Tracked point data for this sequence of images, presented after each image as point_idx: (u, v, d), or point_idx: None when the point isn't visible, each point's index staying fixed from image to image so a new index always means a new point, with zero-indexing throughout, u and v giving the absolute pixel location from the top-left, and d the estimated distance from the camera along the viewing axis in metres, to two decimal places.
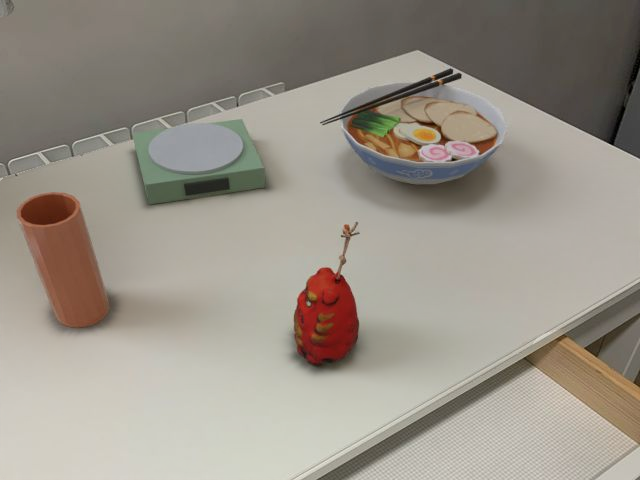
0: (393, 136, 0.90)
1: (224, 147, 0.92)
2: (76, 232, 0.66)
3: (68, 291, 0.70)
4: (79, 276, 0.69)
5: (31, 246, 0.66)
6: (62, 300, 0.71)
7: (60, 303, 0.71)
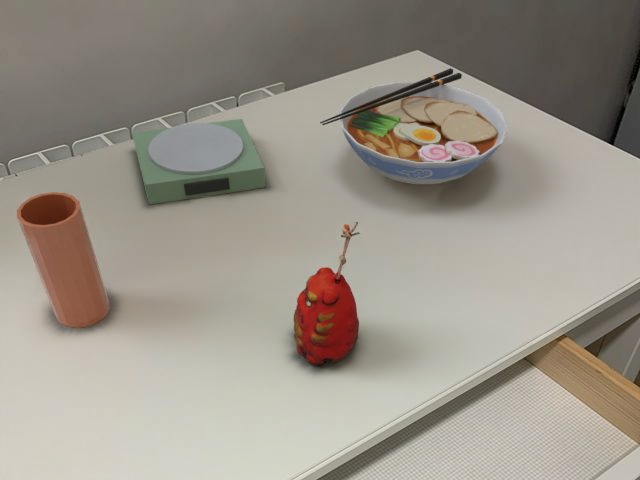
0: (393, 136, 0.90)
1: (224, 147, 0.92)
2: (76, 232, 0.66)
3: (68, 291, 0.70)
4: (79, 276, 0.69)
5: (31, 246, 0.66)
6: (62, 300, 0.71)
7: (60, 303, 0.71)
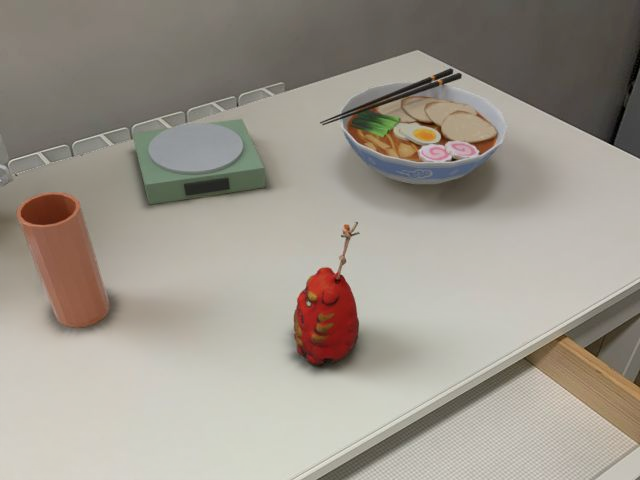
0: (393, 136, 0.90)
1: (224, 147, 0.92)
2: (76, 232, 0.66)
3: (68, 291, 0.70)
4: (79, 276, 0.69)
5: (31, 246, 0.66)
6: (62, 300, 0.71)
7: (60, 303, 0.71)
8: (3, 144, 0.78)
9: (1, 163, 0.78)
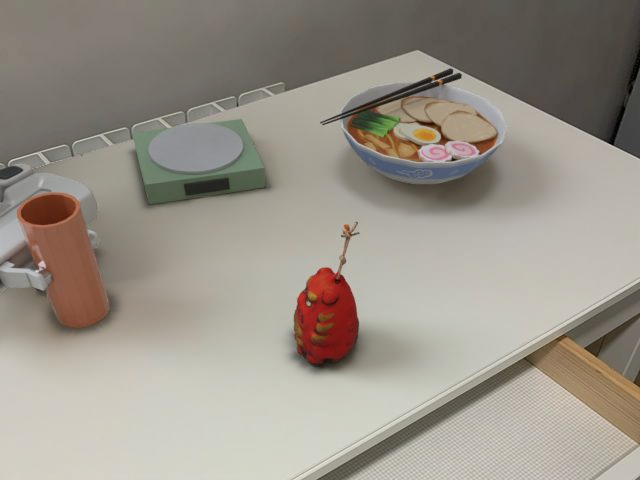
0: (393, 136, 0.90)
1: (224, 147, 0.92)
2: (76, 232, 0.66)
3: (68, 291, 0.70)
4: (79, 276, 0.69)
5: (31, 246, 0.66)
6: (62, 300, 0.71)
7: (60, 303, 0.71)
8: (94, 201, 0.76)
9: (91, 220, 0.77)
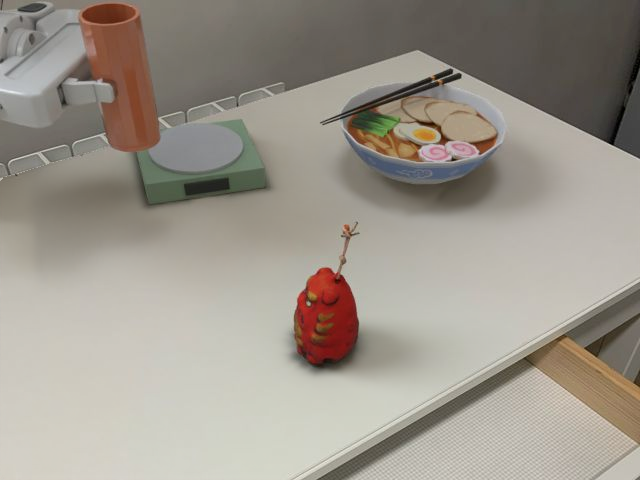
0: (393, 136, 0.90)
1: (224, 147, 0.92)
2: (140, 34, 0.67)
3: (132, 105, 0.71)
4: (142, 87, 0.70)
5: (97, 53, 0.67)
6: (125, 118, 0.72)
7: (122, 122, 0.72)
8: None
9: None
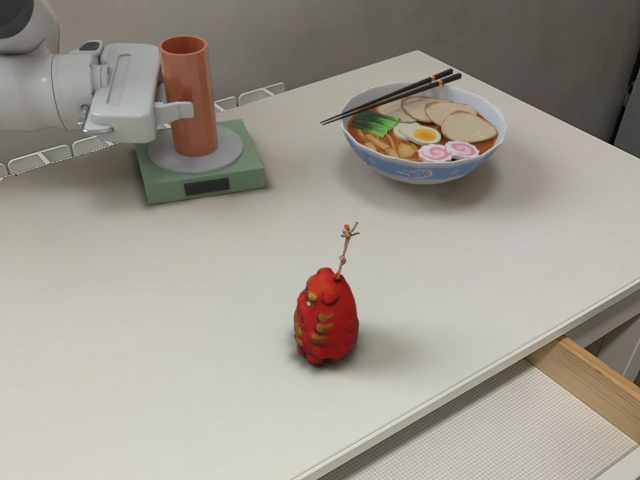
0: (393, 136, 0.90)
1: (224, 147, 0.92)
2: None
3: (205, 117, 0.87)
4: (211, 101, 0.86)
5: (180, 78, 0.82)
6: (199, 128, 0.87)
7: (197, 132, 0.88)
8: None
9: None
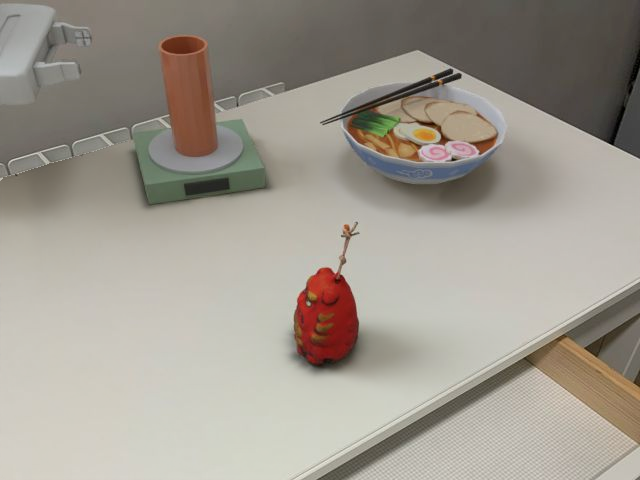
0: (393, 136, 0.90)
1: (224, 147, 0.92)
2: None
3: (205, 117, 0.87)
4: (211, 101, 0.86)
5: (180, 78, 0.82)
6: (199, 128, 0.87)
7: (197, 132, 0.88)
8: (58, 18, 0.86)
9: None
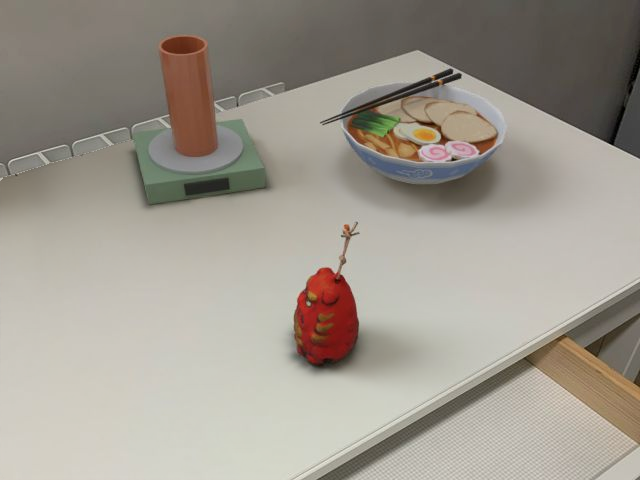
0: (393, 136, 0.90)
1: (224, 147, 0.92)
2: None
3: (205, 117, 0.87)
4: (211, 101, 0.86)
5: (180, 78, 0.82)
6: (199, 128, 0.87)
7: (197, 132, 0.88)
8: None
9: None
